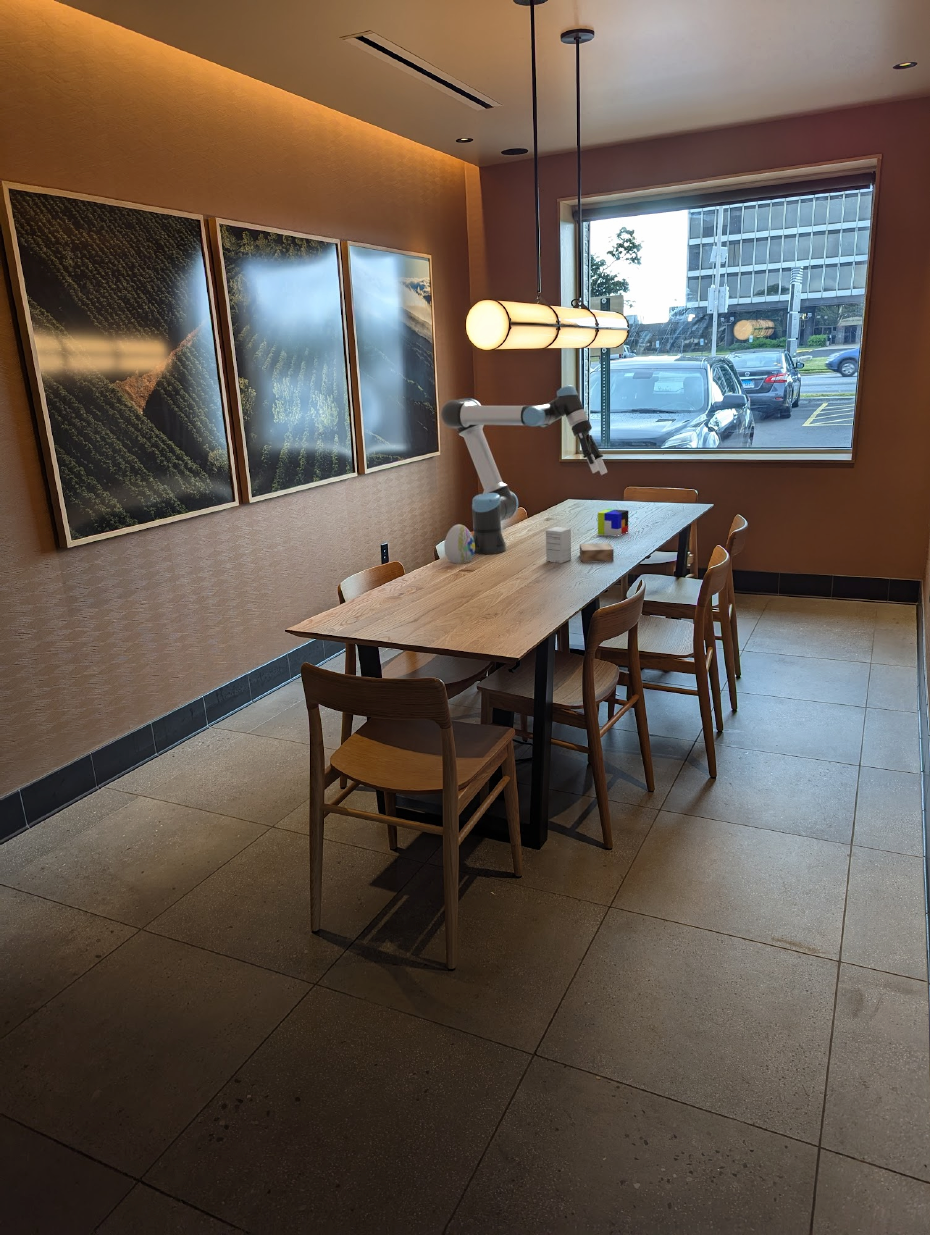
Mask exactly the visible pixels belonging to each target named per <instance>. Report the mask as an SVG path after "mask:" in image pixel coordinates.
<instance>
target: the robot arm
mask: <svg viewBox="0 0 930 1235" xmlns="http://www.w3.org/2000/svg"><path fill="white" fill-rule="evenodd" d="M587 414H588V412H587V410H586V411H585V408H584V406H583V403H582V401H581V399H580V396H579V394H578V391H577V389H576V388H575V386H574V385H571V384H569V385H566V386H562V387H561V388H559V389H558V390H557V391H556V398H555V399H553V400H551V401H550V402H547V403H545V404H540V405H481V403H480V402H479V401H478V400H476V399H474V398H469V397H464V398H459V399H451V400H449V401H447V402H445V403H444V404H443V405H442V407H441V410H440V417H441V420H442V423H443V424H444V425H445V426H446V427H448V428H450V429H455V430H456V431H457V433H458V435H459V436H461V437H463V438H464V442H465V445H466V446H467V449H468V452H469V455H470V457H471V460H472V462H473V464H474V468H475V470H476V472H477V475H478V478H479V480H480V483H481V486H482V488H483V492H482V493H480V494H476V495H475V496H474V497H473V498H472V500H471V501H472V504H471V509H472V524H473V525H472V526H473V527H472V528H473V534H472V536H473V539H474V543H475V552H474V554H477V555H478V554H479V555H491V554H499V553H503V552H505V551H507V544H506V541H505V539H504V536H503V534H502V522H503V521H506V520H508V519H510V518H511V517H513V516H514V515H515V514H516V513H517V511H518V509H519V500H518V497H517V495H516V494H515V493H514V492H512V491H511V490H510V488H509V484H506V483H504V482H503V479H502V477H501V475H500V472H499V469H498V466H497V464H496V462H495V459H494V457H493V454H492V451H491V449H490V446H489V444H488V440H487V438H486V436H485V433H484V431H483V428H484V426H529V427H538V426H540V427H541V428H545V427H548V426H550V425H552V423H555V422H556V421H557V420H559V419H561V418H563V417H564V416H565V417H566V420H567V422H568V425H569V427H571V428H570V429H571V431H572V433H573V435H574V436H575V437H578V440H579V443H580V444H579V445H580V447H581V451H582V453H583V458H584V459H586V460H587V464H588V466H589V468H590V471H591V473H592V474H595V473H597V472H599V473H600V476H603V475H604V474H607V473H608V470H607V467H606V465H605V463H604V460H603V457H604V455H603V454H602V453H601V451H600V450H599V448H598V446H597V444H596V442H595V440H594V438H593V435H592V434H589V432H591V430H592V427H593V426H592V425H591V422H590V420H589V419H588V415H587Z"/></svg>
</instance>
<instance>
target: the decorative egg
mask: <svg viewBox="0 0 930 1235" xmlns="http://www.w3.org/2000/svg"><path fill="white" fill-rule="evenodd" d="M445 536H446V537H445V540H444V546H443V547H444V548H443V549H444V553H445V554H444V555H445V556H446V558H447V560H448V561H449V562H450V563H452V564H467V563H470V562H471V561H472V559H473V557H474V555H475V553H474V552H475V543H474V539H473V534H472V533H471V531H470V530H469V529H468V528H467V527H466V526H465V525H463V524H459V523H458V524H454V525H453V526H451V528H449V530H448V532H447V534H446V535H445Z"/></svg>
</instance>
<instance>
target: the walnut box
mask: <svg viewBox="0 0 930 1235" xmlns="http://www.w3.org/2000/svg"><path fill="white" fill-rule="evenodd" d="M614 550H615V549H614V547H613V546H612V544H611V543H610V542H599V543H598V542H596V543H579V557H580V559H582V560H581V562H582V563H589V562H588V561H601V562H614V560H615V559H614Z"/></svg>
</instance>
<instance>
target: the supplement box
mask: <svg viewBox="0 0 930 1235" xmlns="http://www.w3.org/2000/svg"><path fill="white" fill-rule="evenodd" d="M571 531H572V529H571V528H569V527H561V526H559V527H558V526H554V527H552V528H549V529H546V530H545V556H546V558H545V559H546V562H548V561H550V563H555V562H559V563H558V564H563V563H565V562H568V561H570V560H572V541H571V539H572V532H571Z"/></svg>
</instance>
